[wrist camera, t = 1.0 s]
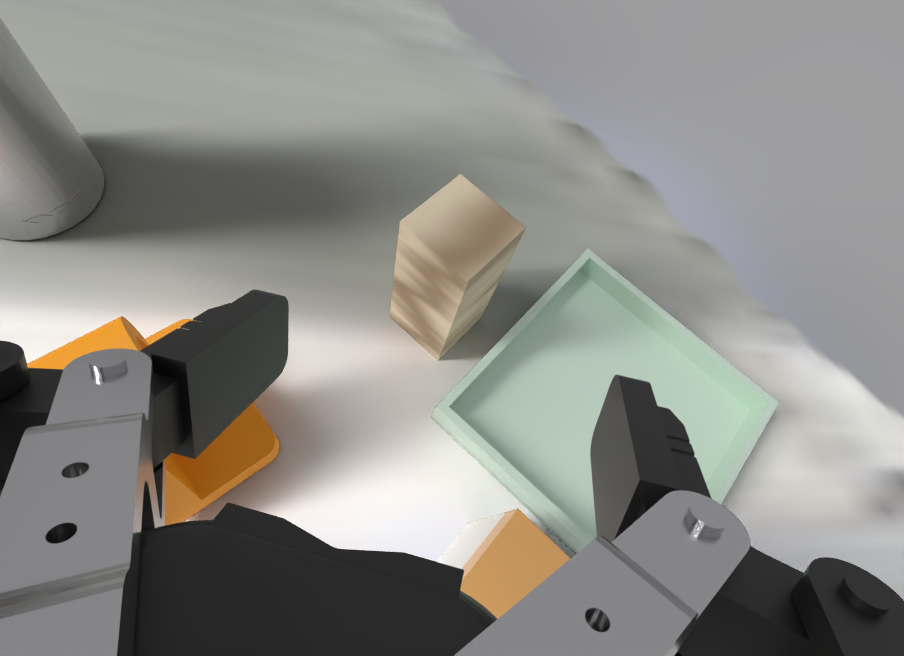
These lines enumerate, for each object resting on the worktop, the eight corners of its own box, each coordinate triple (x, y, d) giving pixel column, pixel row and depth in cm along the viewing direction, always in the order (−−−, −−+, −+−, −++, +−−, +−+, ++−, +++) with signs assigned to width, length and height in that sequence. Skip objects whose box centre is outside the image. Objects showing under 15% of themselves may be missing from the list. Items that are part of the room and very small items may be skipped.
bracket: (288, 453, 33) (250, 404, 22) (180, 527, 30) (77, 512, 19) (204, 330, 35) (134, 230, 24) (98, 388, 32) (-34, 305, 22)
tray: (430, 417, 35) (435, 406, 33) (574, 266, 42) (587, 248, 40) (635, 609, 32) (658, 614, 30) (752, 412, 39) (779, 402, 37)
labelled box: (414, 588, 31) (441, 607, 20) (467, 523, 33) (518, 508, 22) (474, 651, 30) (538, 706, 19) (525, 580, 32) (608, 593, 21)
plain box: (389, 316, 38) (399, 221, 27) (434, 277, 40) (460, 173, 29) (438, 360, 37) (468, 280, 26) (481, 317, 39) (525, 227, 28)
